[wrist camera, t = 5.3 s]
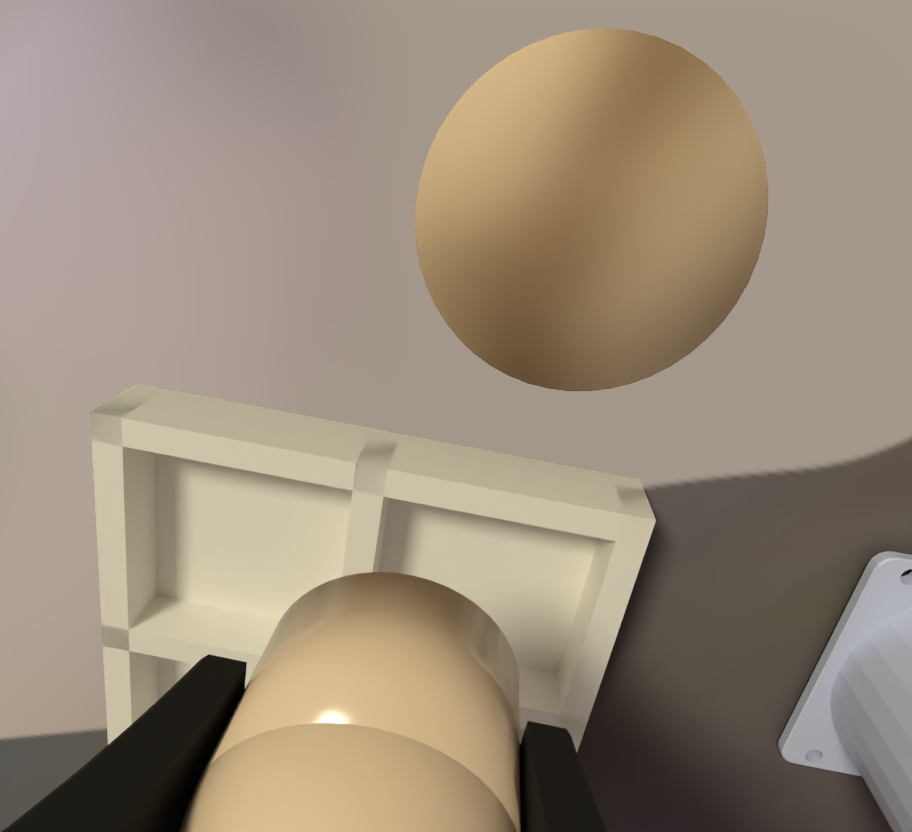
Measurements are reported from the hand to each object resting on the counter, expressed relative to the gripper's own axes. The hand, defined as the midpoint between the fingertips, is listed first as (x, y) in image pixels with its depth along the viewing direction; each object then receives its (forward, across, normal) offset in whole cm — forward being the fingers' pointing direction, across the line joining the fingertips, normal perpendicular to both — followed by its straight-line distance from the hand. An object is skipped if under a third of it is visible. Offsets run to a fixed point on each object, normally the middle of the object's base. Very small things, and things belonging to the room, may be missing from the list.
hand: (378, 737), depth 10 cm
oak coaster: (+9, -2, -8) cm, 12 cm away
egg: (+1, 0, 0) cm, 1 cm away
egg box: (+9, +2, +10) cm, 13 cm away
